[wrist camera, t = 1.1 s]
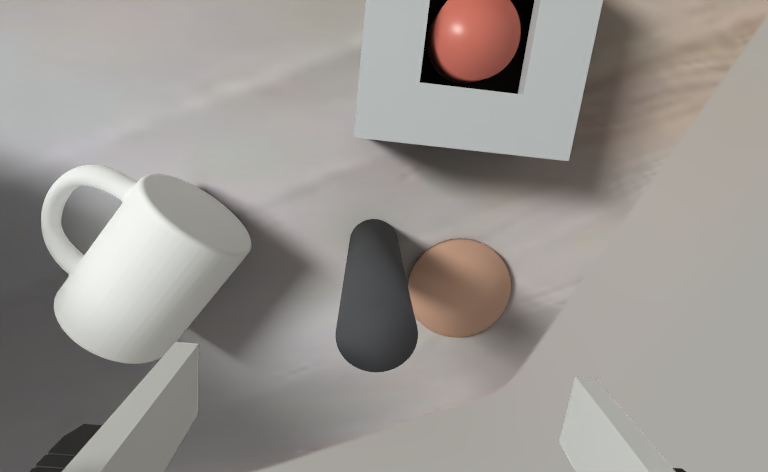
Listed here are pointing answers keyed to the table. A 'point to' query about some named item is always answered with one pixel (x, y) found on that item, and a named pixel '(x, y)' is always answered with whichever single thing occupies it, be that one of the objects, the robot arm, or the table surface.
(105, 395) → the table surface
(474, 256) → the coaster
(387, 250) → the rod
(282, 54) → the table surface
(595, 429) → the robot arm
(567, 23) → the square hole box
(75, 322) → the mug
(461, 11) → the button
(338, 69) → the table surface
